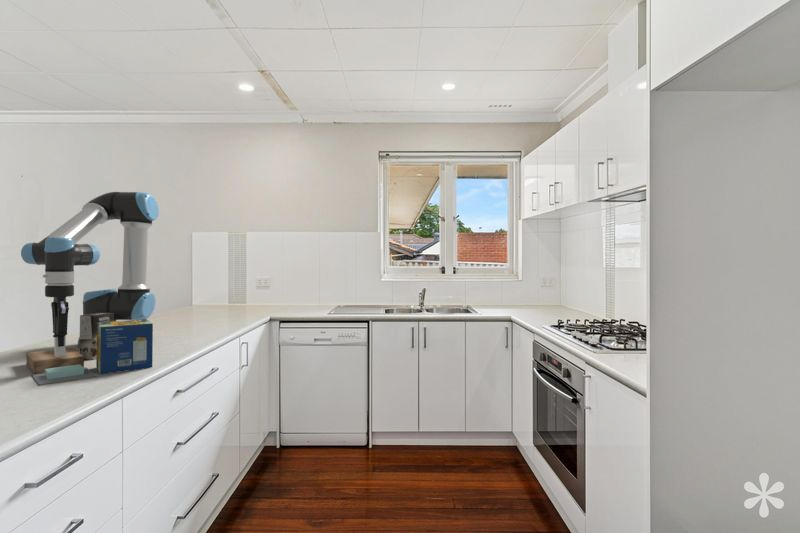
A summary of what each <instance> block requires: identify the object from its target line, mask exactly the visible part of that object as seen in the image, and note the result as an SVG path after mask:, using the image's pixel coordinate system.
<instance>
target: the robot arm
mask: <svg viewBox="0 0 800 533" xmlns="http://www.w3.org/2000/svg"><path fill="white" fill-rule="evenodd" d="M81 209H82V210H81V211H79V212H78V213H76V214H75V215H73V216H72V217H71V218H70V219H68V220H67V221H66V222H65V223H63V224H61V225H60V226H59V227H58V228H56V229H55V230H54V231H52V232H51V233H49V235H47V236H46V237H44V238H43V239H42V240H40V241H38V242H29V243H26V244H24V245H23V246H22V247H21V249H20V256H21V258H22V260H23V262H25V263H26V264H28V265H36V266H43V265H44V266H45V267H44V268H45V269H44V272H45V273H44V274H42V278H45V280H44V284H46V285H45V286H44V296H45V297H46V298H53V301H51V303H50V307H51V314H52V315H51V316H52V333H53V335H52V338H54V340H53V341H54V342H53V343H54V348H53V350H54V353H55V357H58V356H66V347H67V345H66V343H67V342H66V340H67V339H66V338H67V337H66V336H67V335H68V321H69V320H68V318H69V310H70V308H69V302H68V301H67V297H69V298H70V297H73V296H74V295H75V285H74V283H75V269H74V268H75V266H91V265H94V264H96V263H97V262H98V261H99V260H100V257H101V253H100V250H99V249H98V247H97V246H96V245H93V244H90V243H89V244H88V243H77V242H79V241H80V240H82V238H84V237H85V236H86V235H87V234H88V233H90V232H91V231H92V230H94V229H95V228H96V227H97V226H99V225H102V224H105V223H106V222H107V221H111V220H119V223H120V224H121V226H122V227H123V228H124V229H123V251H122V255H123V256H122V278H121V285H120V286H118V287H117V288H108V289H100V290H91V291H86V292H84V294H83V299H82V315H86V314H94V313H114V321H128V320H142V319H147V320H148V319H149V318H150V317H151V316H152V314H153V312H154V311H155V308H156V302H157V301H156V298H155V294H154V293H152V292H150V290H151V289H150V287H149V286H148V285H147V265H148V264H147V262H148V258H147V257H148V235H149V234H148V233H149V232H148V231H149V229H150V228H151V227H152V226H153V221H155V220H157V219H158V217H159V215H160V214H159V213H160V210H159V205H158V202H157V200H156V198H155V197H154V196H153V195H152V194H151V193H148V192H141V191H134V192H133V191H112V192H111V191H110V192H105V193H103V194H101V195H98V196H96V197H95V198H92V199H90V200H89V201H88V202H86V203H85V204H84V205H83V206H82V208H81ZM79 344H80V336H79V337H78V340H77V347H78V348H79V346H80V345H79Z"/></svg>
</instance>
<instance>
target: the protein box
mask: <svg viewBox="0 0 800 533" xmlns="http://www.w3.org/2000/svg"><path fill="white" fill-rule="evenodd" d="M96 324H97V350H96V359H95V361H96V365H95V366H96V369H97V372H98V373H99V375H104V374H103V373H106V374H110V373H109V372H113V373H118V372H117V371H121V372H126V371H125V370H129V371H135V370H134V369H137V370H143V369H142V368H144V369H151V368H150V367H152V368H153V351H154V350H153V345H154V344H153V343H154V342H153V338H154V336H153V335H154V334H153V332H154V329H153V328H154V324H153V322H151V321H149V320H148V318H147V319H142V320H116V321H114V322H99V323H96Z"/></svg>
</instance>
